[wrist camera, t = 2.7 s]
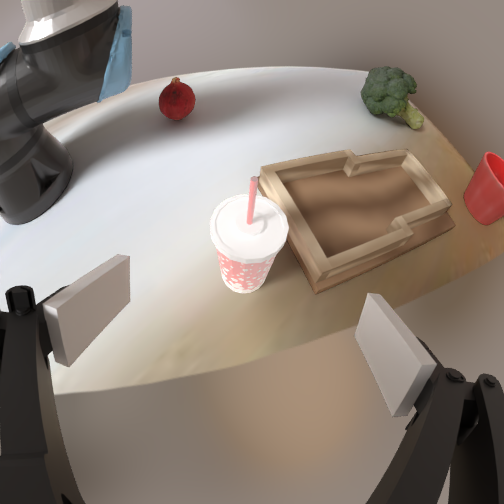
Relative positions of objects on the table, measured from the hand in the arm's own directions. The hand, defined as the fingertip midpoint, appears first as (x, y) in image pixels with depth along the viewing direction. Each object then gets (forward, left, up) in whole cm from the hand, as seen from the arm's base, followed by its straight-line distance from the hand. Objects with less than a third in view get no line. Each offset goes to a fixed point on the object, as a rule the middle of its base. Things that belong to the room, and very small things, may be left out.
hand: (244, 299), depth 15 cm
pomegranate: (-36, +3, -13) cm, 38 cm away
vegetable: (-29, +43, -13) cm, 54 cm away
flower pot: (-3, +47, -13) cm, 49 cm away
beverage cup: (-7, +3, -13) cm, 15 cm away
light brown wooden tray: (-10, +22, -13) cm, 28 cm away
